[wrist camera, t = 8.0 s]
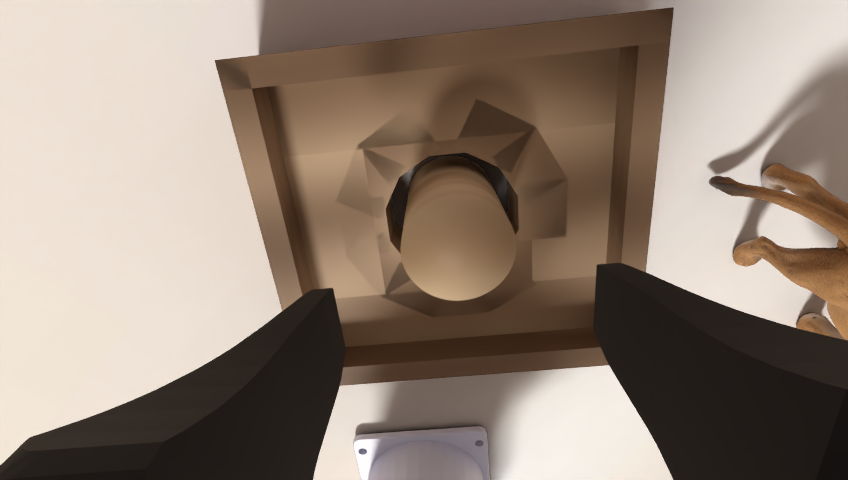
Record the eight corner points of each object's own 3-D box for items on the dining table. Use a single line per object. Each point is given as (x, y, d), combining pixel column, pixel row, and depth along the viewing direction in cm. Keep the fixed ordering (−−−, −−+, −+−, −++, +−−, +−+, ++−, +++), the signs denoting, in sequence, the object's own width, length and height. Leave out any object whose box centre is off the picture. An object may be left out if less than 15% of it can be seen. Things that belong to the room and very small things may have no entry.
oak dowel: (494, 233, 21) (516, 296, 16) (412, 240, 21) (406, 304, 16) (491, 152, 20) (516, 189, 14) (403, 160, 20) (393, 200, 14)
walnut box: (602, 313, 23) (636, 363, 19) (322, 336, 24) (303, 388, 20) (621, 17, 17) (673, 7, 14) (257, 59, 18) (214, 60, 15)
